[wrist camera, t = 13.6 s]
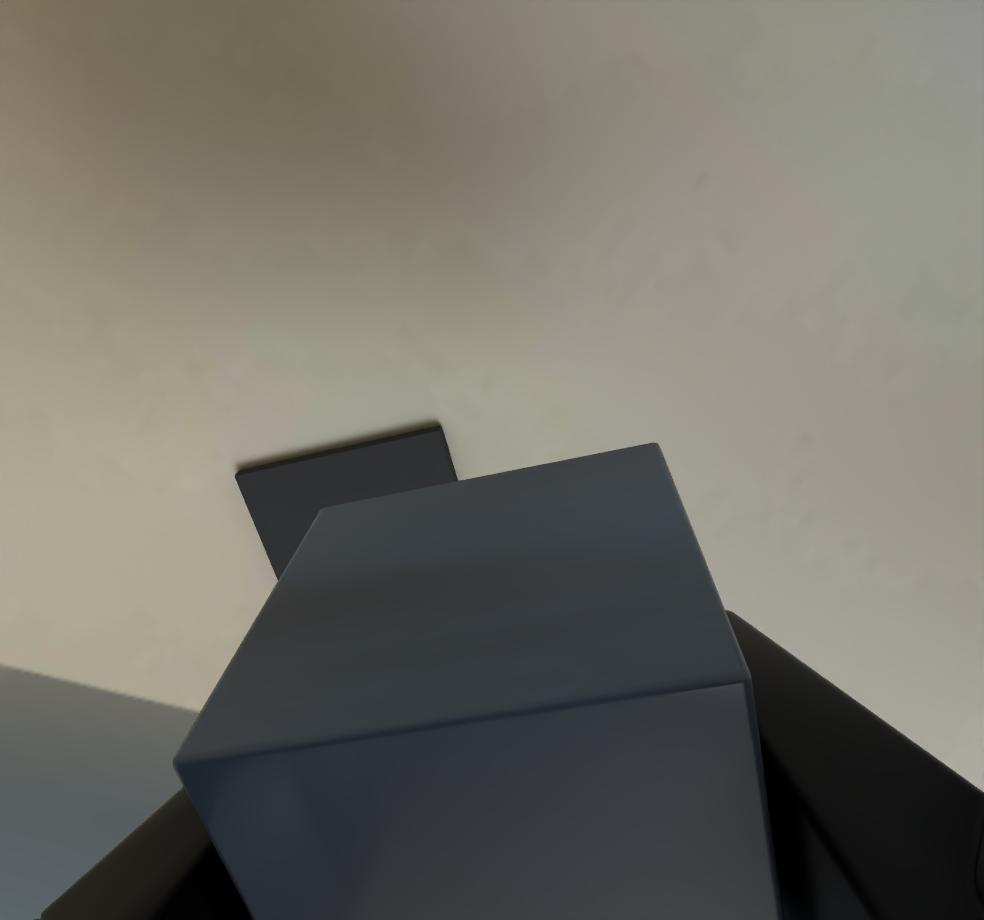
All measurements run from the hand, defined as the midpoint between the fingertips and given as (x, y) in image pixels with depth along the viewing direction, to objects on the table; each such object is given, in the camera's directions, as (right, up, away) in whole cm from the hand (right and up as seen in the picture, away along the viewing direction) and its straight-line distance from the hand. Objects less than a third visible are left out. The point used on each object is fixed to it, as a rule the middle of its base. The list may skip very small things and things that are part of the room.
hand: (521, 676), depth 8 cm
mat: (-4, 0, +13) cm, 14 cm away
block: (0, 0, +1) cm, 1 cm away
